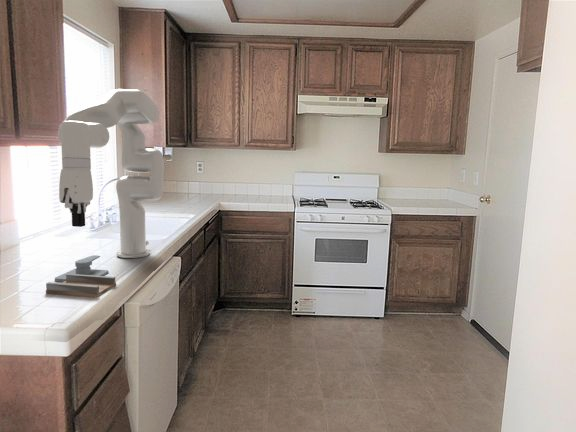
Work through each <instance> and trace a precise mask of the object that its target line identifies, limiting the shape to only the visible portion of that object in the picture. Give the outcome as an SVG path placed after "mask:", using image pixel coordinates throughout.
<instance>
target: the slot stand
mask: <svg viewBox="0 0 576 432" xmlns="http://www.w3.org/2000/svg"><path fill="white" fill-rule="evenodd" d="M115 286H117V281H116V277H115V276H106V275H104V276H94V275H80V274H66V281H65V282H51V281H49V282H48V281H47V282H46V283H45V287H46V290H45V294H47V295H59V296H74V297H84V298H85V297H86V298H99V296H102V295H103V294H105V293H107V292H108V291H109V290H110V289H112V288H115Z"/></svg>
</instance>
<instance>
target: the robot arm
mask: <svg viewBox="0 0 576 432" xmlns="http://www.w3.org/2000/svg"><path fill="white" fill-rule="evenodd" d="M159 112H160V111H159V108H158V105H157V103H156V102H155V101H154V100H153V99H152V98H151V97H150V96H149V95H148V94H147V93H145V92H144V91H142V90H139V89H129V88H128V89H126V88H125V89H124V88H118V89H117V88H116V89H111V90H109V91H108V92H107V93H105V95H104V96H103V97H101V99H100V100H99V101H98V102H97V103H96V104H94V105H91V106H88V107H86V108H82V109H80V110H77V111H74V112H73V113H71V114H70V115H68V116H67V117H66V118H64V120H63V121H62V122H60V124H59V127H58V129H57V137H58V140H59V142H60V143H61V145H60V146H61V165H62V166H61V171H60V174H59V184H58V186H59V188H58V190H59V191H58V192H59V193H58V197H59V198H58V199H59V202H60V203H61V204H64V208H65V209H69V211H70V214H71V225H72V227H79V228H80V227H81V228H82V227H85V226H86V212H87V207H88V206H89V205H91V201H92V200H93V198H94V188H93V178H92V169H91V168H92V166H91V164H92V163H91V149H92V148H93V149H95V148H96V149H98V148H103V147H104V146H106V145H107V144H108V143H109V141H110V132H109V130H108V128H112V127H114V126H116V125H117V126H118V128H119V130H120V132H121V136H122V137H121V138H122V141H121V143H122V144H121V147H122V148H121V166H122V169H123V170H124V171H125V172H128V173H142V174H145V173H146V174H149V176H143V175H125V176H124V175H122V176H121V177H119V178H118V179H117V181H116V184H115V189H116V194H117V197H118V198H117V199H118V206H119V207H118V209H119V237H120V239H119V241H120V250H118V251H117V252H116V256H117V257H119V258H123V259H138V258H143V257H147V256H149V255H150V254H151V250H150V249H147V246H148V245H149V243H150V242H149V241H148V240H146V236H147V235H146V210H145V208H144V206H143V205H142V203H141V202H140V201H154V202H155V201H157V202H158V201H159V200H161V198H162V197H163V194H164V193H163V192H164V180H165V179H164V174H165V160H164V159H165V158H164V155H163V153H162V151H160V150H159V149H156V148H146V135H145V133H144V132H143V130H142V129H141V127H140V126H139V125H154V124H156V123H157V121H158V120H159V117H160V113H159Z"/></svg>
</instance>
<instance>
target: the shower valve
mask: <svg viewBox="0 0 576 432" xmlns="http://www.w3.org/2000/svg"><path fill="white" fill-rule="evenodd" d="M99 258H101V256H100V255H98V254H97V255H90V256H88V257H84V258H81V259H78V260H76V261H75V263H74V264H75V265H74V266H75V268H73V269H71V270H69V271H67V272H64V273H63V274H60V275H58V276H55V277H54V282H57V283H62V282H65V281H66V274H80V275H94V276H106V275H108V274H109V270H108V269H96V268H95V269H94V268H92V267H91V266H92V265H93V261H95V260H97V259H99Z"/></svg>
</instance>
